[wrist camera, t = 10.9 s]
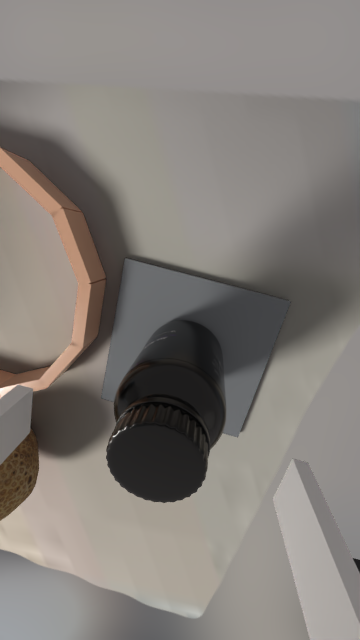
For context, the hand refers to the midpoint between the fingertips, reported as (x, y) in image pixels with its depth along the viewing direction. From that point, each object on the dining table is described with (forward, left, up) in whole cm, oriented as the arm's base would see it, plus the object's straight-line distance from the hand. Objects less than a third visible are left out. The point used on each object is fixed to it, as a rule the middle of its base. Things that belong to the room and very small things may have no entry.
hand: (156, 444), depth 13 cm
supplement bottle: (0, 0, -11) cm, 11 cm away
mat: (0, 0, -12) cm, 12 cm away
